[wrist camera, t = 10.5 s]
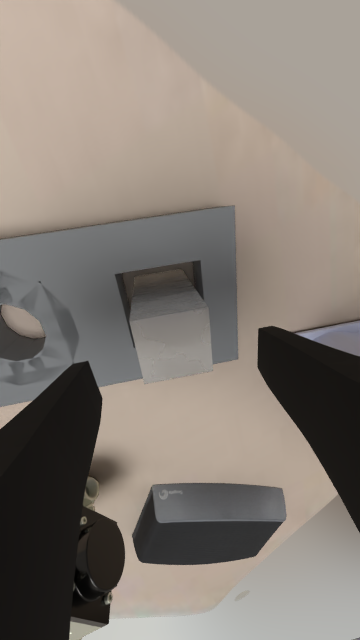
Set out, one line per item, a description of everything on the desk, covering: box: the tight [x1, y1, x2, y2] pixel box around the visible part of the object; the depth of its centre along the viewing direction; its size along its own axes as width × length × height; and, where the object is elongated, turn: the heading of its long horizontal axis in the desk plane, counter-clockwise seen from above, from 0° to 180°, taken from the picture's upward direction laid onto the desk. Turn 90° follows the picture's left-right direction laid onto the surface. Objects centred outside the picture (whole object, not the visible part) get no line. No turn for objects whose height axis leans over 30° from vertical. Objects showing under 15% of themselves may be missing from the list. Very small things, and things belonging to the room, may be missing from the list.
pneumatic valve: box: [69, 477, 125, 640], centre depth 21 cm, size 6×12×12 cm, turn 125°
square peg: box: [129, 269, 213, 384], centre depth 15 cm, size 4×4×8 cm
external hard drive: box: [132, 483, 286, 565], centre depth 32 cm, size 13×19×4 cm
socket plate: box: [0, 206, 238, 407], centre depth 16 cm, size 20×11×3 cm, turn 97°
